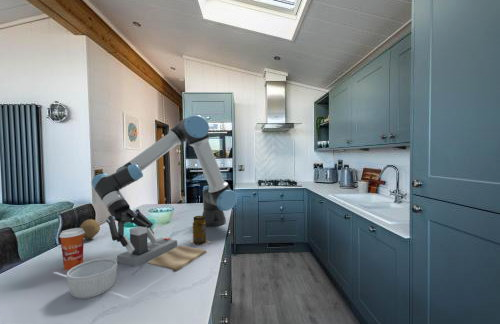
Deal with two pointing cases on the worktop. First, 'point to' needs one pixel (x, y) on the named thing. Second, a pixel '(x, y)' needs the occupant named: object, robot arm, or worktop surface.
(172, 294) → the worktop surface
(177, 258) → the tan cloth
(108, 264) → the ramekin
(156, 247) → the grey slotted holder
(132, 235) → the charger
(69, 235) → the paper cup
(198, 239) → the condiment
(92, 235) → the natural sponge
